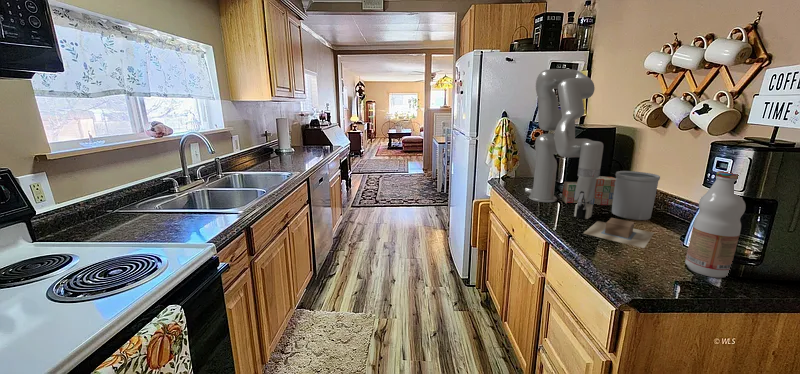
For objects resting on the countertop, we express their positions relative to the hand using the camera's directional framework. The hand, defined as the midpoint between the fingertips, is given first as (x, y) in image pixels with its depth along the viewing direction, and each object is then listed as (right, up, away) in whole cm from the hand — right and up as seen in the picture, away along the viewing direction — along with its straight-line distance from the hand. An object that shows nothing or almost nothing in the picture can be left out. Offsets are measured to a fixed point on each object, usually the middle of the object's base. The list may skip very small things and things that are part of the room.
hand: (582, 216), depth 137 cm
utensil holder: (+23, 0, +5) cm, 23 cm away
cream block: (0, -1, 0) cm, 1 cm away
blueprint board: (+3, -5, -18) cm, 19 cm away
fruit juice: (+12, -12, -42) cm, 45 cm away
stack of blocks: (+14, +4, +22) cm, 27 cm away
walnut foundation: (+3, -4, -18) cm, 19 cm away
